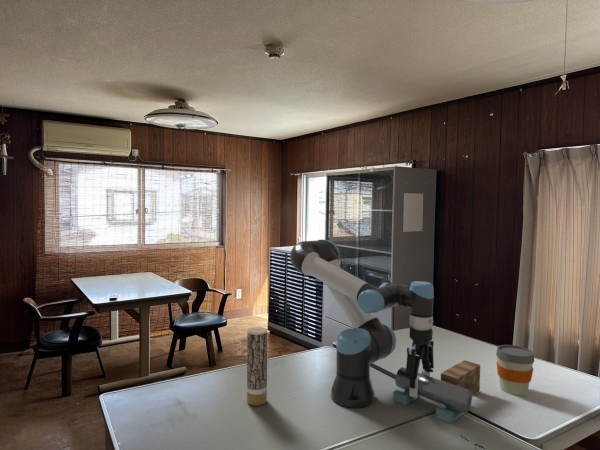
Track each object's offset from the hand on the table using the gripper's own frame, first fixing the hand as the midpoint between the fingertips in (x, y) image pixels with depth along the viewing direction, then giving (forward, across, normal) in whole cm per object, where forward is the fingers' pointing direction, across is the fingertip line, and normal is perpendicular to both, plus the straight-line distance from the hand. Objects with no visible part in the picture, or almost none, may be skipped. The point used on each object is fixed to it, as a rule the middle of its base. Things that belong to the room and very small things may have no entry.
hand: (419, 393), depth 140 cm
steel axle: (0, 0, -4) cm, 5 cm away
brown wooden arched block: (+4, +16, -7) cm, 18 cm away
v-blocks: (+4, 0, -3) cm, 5 cm away
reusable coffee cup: (+4, +36, -18) cm, 40 cm away
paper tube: (+4, -41, +38) cm, 56 cm away
